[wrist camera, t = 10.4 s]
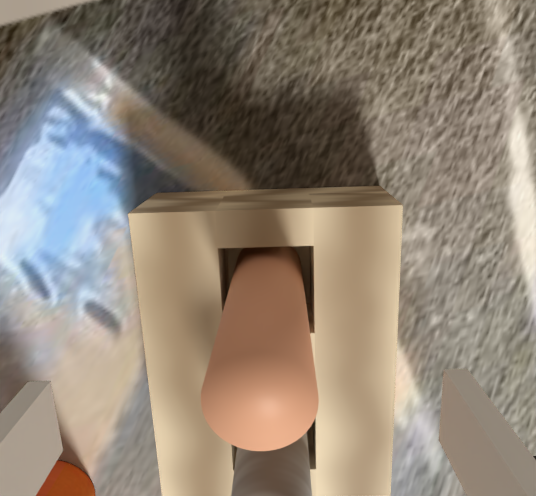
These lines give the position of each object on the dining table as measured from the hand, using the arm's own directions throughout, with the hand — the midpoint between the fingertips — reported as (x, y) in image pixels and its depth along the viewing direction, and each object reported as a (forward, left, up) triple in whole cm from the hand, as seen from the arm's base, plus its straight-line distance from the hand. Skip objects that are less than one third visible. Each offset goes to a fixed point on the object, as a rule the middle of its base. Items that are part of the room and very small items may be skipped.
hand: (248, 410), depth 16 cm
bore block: (0, -4, -16) cm, 17 cm away
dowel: (0, 0, -14) cm, 14 cm away
